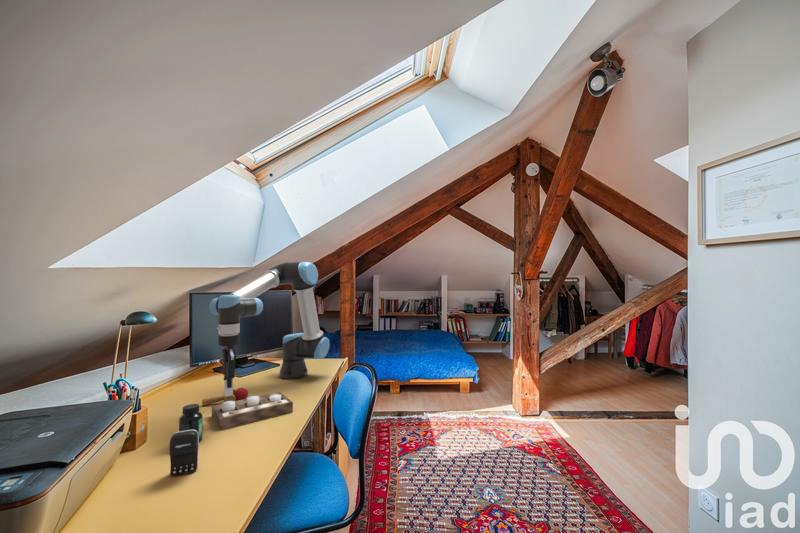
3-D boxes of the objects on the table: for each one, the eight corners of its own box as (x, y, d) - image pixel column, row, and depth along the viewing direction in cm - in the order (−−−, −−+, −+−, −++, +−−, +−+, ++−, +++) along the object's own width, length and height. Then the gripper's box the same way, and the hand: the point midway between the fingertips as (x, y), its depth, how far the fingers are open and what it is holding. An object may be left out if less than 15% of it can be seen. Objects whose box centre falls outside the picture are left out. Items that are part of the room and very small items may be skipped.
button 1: (233, 411, 138) (233, 399, 138) (236, 414, 134) (236, 403, 134) (220, 414, 135) (220, 402, 135) (223, 418, 131) (223, 406, 131)
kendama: (201, 412, 145) (248, 401, 151) (199, 397, 146) (246, 386, 152) (205, 409, 152) (249, 398, 159) (203, 394, 153) (247, 384, 159)
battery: (167, 479, 95) (168, 437, 95) (170, 472, 98) (170, 432, 99) (197, 473, 98) (197, 432, 98) (198, 466, 101) (199, 427, 102)
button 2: (279, 404, 149) (279, 393, 149) (282, 407, 145) (282, 396, 145) (268, 406, 146) (268, 395, 146) (271, 409, 142) (271, 398, 142)
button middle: (257, 406, 143) (257, 395, 143) (260, 409, 140) (260, 398, 140) (245, 408, 140) (245, 397, 141) (248, 412, 137) (248, 400, 137)
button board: (279, 400, 155) (279, 391, 155) (292, 411, 142) (292, 401, 142) (211, 416, 138) (211, 405, 138) (219, 430, 125) (219, 418, 125)
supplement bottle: (206, 440, 117) (206, 405, 118) (185, 449, 112) (185, 411, 112) (195, 435, 121) (196, 401, 121) (174, 443, 115) (175, 407, 116)
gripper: (215, 333, 138) (214, 393, 137) (221, 337, 128) (221, 402, 127) (235, 331, 143) (235, 389, 142) (243, 335, 132) (243, 397, 132)
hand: (228, 395), depth 135 cm, fingers closed
